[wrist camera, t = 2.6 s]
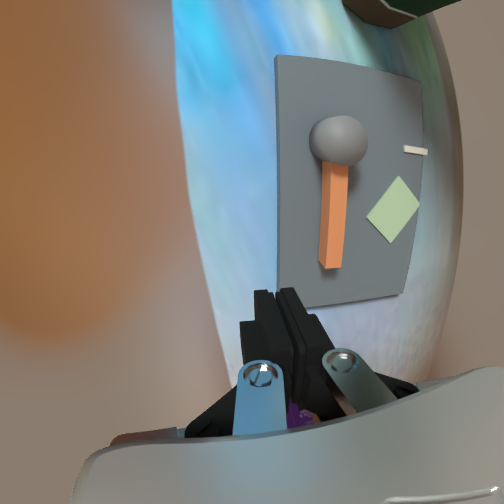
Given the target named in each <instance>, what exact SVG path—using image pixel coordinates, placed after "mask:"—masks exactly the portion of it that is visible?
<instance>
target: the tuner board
mask: <svg viewBox="0 0 504 504" xmlns="http://www.w3.org/2000/svg"><path fill="white" fill-rule="evenodd" d="M274 68H275V96H276V134H277V292H280V288H287V287H294V289H295V291H296V293H297V295H298V296H299V298H300V300H301V302H302V304H303V306H304V308H307V307H315V306H323V305H331V304H338V303H345V302H352V301H359V300H365V299H372V298H378V297H384V296H390V295H395V294H401V293H403V291H404V287H405V282H406V278H407V274H408V269H409V264H410V259H411V254H412V248H413V243H414V237H415V230H416V224H417V216H418V208H419V206H420V203H419V199H420V189H421V177H422V159H423V155H428V149H424V148H423V108H422V90H421V82H419V81H416V80H413V79H410V78H406V77H403V76H400V75H396V74H393V73H389V72H385V71H381V70H377V69H373V68H369V67H364V66H360V65H355V64H350V63H344V62H339V61H333V60H326V59H319V58H311V57H302V56H291V55H276V57H275V58H274ZM342 115H344V116H350V117H352V118H355V119H356V120H357V121H359V122H360V123H361V124H362V126H363V127H364V129H365V131H366V133H367V137H368V148H367V151H366V154H365V156H364V157H363V158H362V160H361V161H359V162H358V163H356V164H354V165H351V166H348V188H347V206H346V221H345V233H344V244H343V254H342V263H341V267H339V268H328V269H325V268H324V266H323V265H322V264H321V263H320V261H319V260H318V255H319V240H320V222H321V198H322V160H320V159H319V158H317V157H316V156H315V155H314V153H313V152H312V150H311V148H310V144H309V134H310V131H311V129H312V127H313V126H314V124H315V123H317V122H318V121H320V120H322V119H325V118H330V117H336V116H342Z"/></svg>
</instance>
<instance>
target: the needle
mask: <svg viewBox="0 0 504 504" xmlns="http://www.w3.org/2000/svg"><path fill="white" fill-rule="evenodd" d="M309 144H310V148H311V150H312V152H313V153H314V155H315V156H316V157H317V158H319V159H320V160H322V198H321V222H320V240H319V255H318V260H319V261H320V263H321V264H322V265H323V266H324V268H325V269H328V268H339V267H341V263H342V254H343V244H344V233H345V221H346V206H347V188H348V166H351V165H354V164H356V163H358V162H359V161H361V160H362V158H363V157H364V156H365V154H366V151H367V148H368V137H367V133H366V131H365V129H364V127H363V126H362V124H361V123H360V122H359V121H357V120H356V119H355V118H352V117H350V116H344V115H342V116H336V117H330V118H325V119H322V120H320V121H318V122H317V123H315V124H314V126H313V127H312V129H311V131H310V134H309Z"/></svg>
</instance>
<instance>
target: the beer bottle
mask: <svg viewBox="0 0 504 504" xmlns="http://www.w3.org/2000/svg"><path fill="white" fill-rule="evenodd" d="M458 1H461V0H342V2H343V4H344V5H346V6H347V7H348V8H349V9H350V10H351V11H353V12H354V13H355V14H356V15H357V16H358V17H359V18H360V19H362V20H363V21H364V22H365V23H370V24H374V25H378V26H382V27H386V28H390V29H392V28H395V27H397V26H400V25H402V24H404V23H407V22H409V21H411V20H413V19H415V18H417V17H420V16H422V15H424V14H427V13H429V12H432V11H434V10H437V9H439V8H442V7H444V6H447V5H450V4H452V3H455V2H458Z"/></svg>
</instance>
